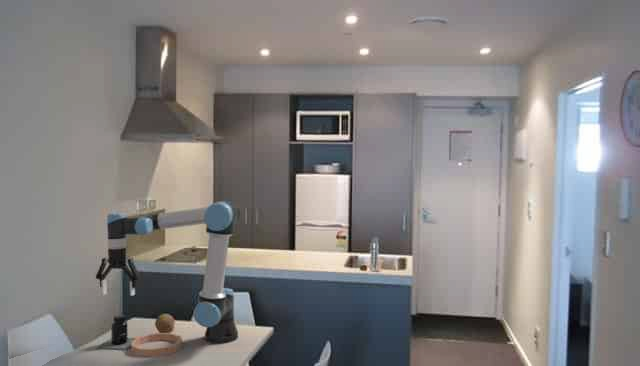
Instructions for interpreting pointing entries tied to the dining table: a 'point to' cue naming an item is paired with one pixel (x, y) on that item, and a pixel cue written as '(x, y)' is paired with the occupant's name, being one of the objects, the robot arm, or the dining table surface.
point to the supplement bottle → (119, 330)
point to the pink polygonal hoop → (156, 351)
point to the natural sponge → (165, 323)
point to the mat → (109, 345)
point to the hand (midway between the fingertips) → (118, 294)
